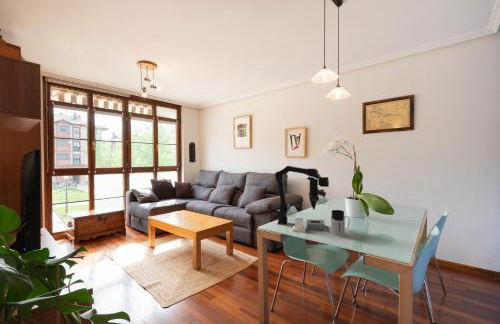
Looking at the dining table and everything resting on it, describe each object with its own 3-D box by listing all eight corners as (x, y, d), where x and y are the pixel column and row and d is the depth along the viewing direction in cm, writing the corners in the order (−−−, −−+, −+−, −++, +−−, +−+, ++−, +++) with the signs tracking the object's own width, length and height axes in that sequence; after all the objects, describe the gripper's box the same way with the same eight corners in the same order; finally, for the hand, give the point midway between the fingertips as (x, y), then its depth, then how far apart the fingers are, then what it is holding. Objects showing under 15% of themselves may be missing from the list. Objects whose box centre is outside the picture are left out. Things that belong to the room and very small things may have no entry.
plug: (295, 230, 160) (295, 217, 159) (295, 229, 163) (295, 216, 163) (303, 231, 158) (302, 218, 158) (303, 229, 162) (302, 216, 162)
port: (306, 229, 161) (306, 223, 161) (306, 224, 173) (306, 218, 173) (325, 230, 159) (324, 223, 158) (323, 225, 170) (323, 219, 170)
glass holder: (338, 231, 156) (338, 209, 156) (355, 238, 143) (354, 213, 142) (327, 233, 153) (327, 210, 153) (343, 240, 140) (343, 215, 139)
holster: (293, 231, 158) (292, 228, 158) (293, 228, 165) (293, 225, 165) (305, 232, 156) (305, 229, 156) (305, 229, 163) (305, 226, 163)
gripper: (326, 188, 156) (326, 211, 157) (324, 184, 175) (323, 205, 175) (309, 187, 159) (309, 210, 159) (308, 184, 177) (308, 205, 178)
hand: (313, 207), depth 168 cm, fingers open, 9 cm apart
